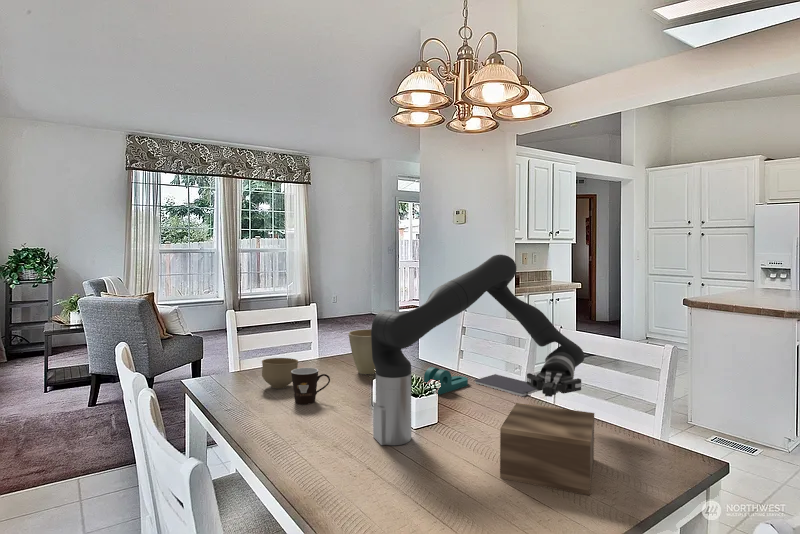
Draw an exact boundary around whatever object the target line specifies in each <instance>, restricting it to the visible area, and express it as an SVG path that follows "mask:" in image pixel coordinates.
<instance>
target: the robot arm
mask: <svg viewBox="0 0 800 534" xmlns="http://www.w3.org/2000/svg"><path fill="white" fill-rule="evenodd" d="M516 273H517V263H516V262H515V260H514V259H513V258H512V257H510V256H509V255H505V254H495V255H492V256H491V257H490V258H488V259H486V261H484V262H482V263H481V264H479V265H478V266H476V267H475V268H473V269H472V270H470V271H467V272H464V273H463V274H461V275H459V276H457V277H455V278H453V279H451V280H450V281H447V282H445V283H443V284H441V285H439V286H438V287H436V288H435V289H433V290H432V292H431V293H430V294H429V296H428V298H427V299H426V302H424V303H423V304H422V305H420V306H418V307H416V308H413V309H412V310H409V311H404V312H403V311H402V312H401V311H396V310H395V311H394V310H389V309H388V310H387V309H386V310H381V311H380V312H378V313H377V314H376V315H375V316H374V318H373V320H372V324H371V328H370V329H371V343H372V359H373V363H374V365H375V369H376V373H375V400H373V401H372V418H373V419H372V420H373V421H372V426H373V428H372V435H373V436H372V437H373V438H374V439H375V440H376V441H377V442H378V443H379V445H380V446H385V445H386V446H401V445H405V444H407V443H409V442H410V441H411V440H412V364H411V361H410V360H409V359H408V358H407V357H406V356H405V355H404V352H403V351H402V350H404V349H407V348H409V347H411V346H412V345H414V344H415V343H416V342H418V341H419V340H421V338H423V337H425V335H427V334H428V333H429V332H430V331H432V330H433V329H435V328H436V327H438V326H440V325H441V324H443V323H445V322H446V321H448V320H450V319H451V318H453V317H456V316H457V315H459V314H460V313H461V314H462V312H464V311H465V310H467V309H468V308H470V306H472V305H473V304H474V303H476V302H477V301H478V300H479V299H480V298H481V297H482V296H483V295H484V294H485V293H486V292H487V293H488V294H489V295H490V296H491V297H492V298H493V299H494V300H495V301H497V303H498V304H500V305H501V306H502V307H503V308H504V309H506V310H507V311H508V312H509V313H510V315H512V316H513V317H514V318H515V319H516V321H518V323H520V325H521V326H522V327H523V329H524V330H525V331H526V332H527V333H528V335H530V338H532V339H533V341H534V342H535V343H536V344H537V346H538V347H546V346H548V345H550V344H551V343H557V344H559V347H557V348H556V349H554V350H553V351H552V352H550V353H549V354H547V356H546V357H545V359H544V364H543V365H542V367H541V369H540V372H538V373H536V374H533V373H530V372H529V373H528V372H527V373H526V382H527V384H528V385H529V386H531V387H533V388H535V389H536V390H539V391H542V395H544V397H550V398H552V397H553V396H556V394H558V393H561V394H564V395H565V394H568V393H574V392H579V391H582V379H581V378H574V377H575V369H576V368H577V367H578V366H579V365H580V364H582V363H584V361H585V353H584V350H583V349H582V348H581V347H580V346H579V345H578V344H576V343H575V342H573V341H572V340H570V338H568V337H567V336H565V335H564V334H563V333H562V332H560V331H559V330H558V329H557V328H556V326H554V324H553V323H552V322H551V321H550V319H549V318H548V317H547V316H546V315H545V313H544V312H542V311H541V310H540V309H539V308H537V307H535V306H533V305H531V304H529V303H528V302H525V301H523V300H521V299H519V298H518V297H517V296H516V295H515V294H514V293H513V292H512V291H511V289H509V287H508V285H509V284H510V283H511V282H512V280H513V278H514V277H515V276H516ZM539 391H538V392H539Z"/></svg>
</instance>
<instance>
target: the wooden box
mask: <svg viewBox="0 0 800 534" xmlns="http://www.w3.org/2000/svg"><path fill="white" fill-rule="evenodd" d="M499 432H500V431H499ZM499 440H500V441H499V444H500V445H499V448H500V449H499V450H500V453H499V478H500V479H504V480H509V481H513V482H519V483H524V484H529V485H534V486H538V487H542V488H543V487H544V488H550V489H556V490H560V491H565V492H569V493H574V494H579V495H580V494H581V495H585V496H590V494H591V485H592V478H593V470H594V469H593V467H594V462H595V461H594V458H595V422H594V423H593V431H592V438H591V445H590V446H584V445H577V444H571V443H565V442H558V441H552V440H546V439H539V438H533V437H527V436H520V435H514V434H508V433H501V432H500V435H499Z"/></svg>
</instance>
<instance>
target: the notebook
mask: <svg viewBox="0 0 800 534" xmlns="http://www.w3.org/2000/svg"><path fill="white" fill-rule="evenodd" d="M475 383H476V385H479V384H480V385H479V386H482V385H484V386H483V387H486V386H487V388H490V387H491V388H490V389H493V388H494V390H497V389H498V390H497V391H500V390H501V391H502V392H504V391H505V393H509V394H512V395H515V396H519V397H526V396H528V395H531V394H534V393H537V392H539V390H536V389H535V388H533V387H531V386H529V385H528V384H527V381H525V380H520V379H516V378H513V377H508V376H504V375H500V374H497V373H495V374H492V375H487V376H483V377H480V378H477V379H474V384H475Z"/></svg>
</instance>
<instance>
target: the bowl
mask: <svg viewBox="0 0 800 534" xmlns="http://www.w3.org/2000/svg"><path fill="white" fill-rule="evenodd" d="M261 364H262V365H261V366H262V368H261V369H262V371H261V377H262V378H263V381H265V382H266V383H267V384H268V385H269V386H270V387H271V388H272V389H277V390H278V389H279V390H282V389H286V388H287V387H288V386H289V385H291V384H292V383H293V382H292V374H291V371H292V370H294V369H297V368H299V367H298V365H299V360H298V359H296V358H292V357H291V358H288V357H271V358H266V359H263V360H261Z"/></svg>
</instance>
